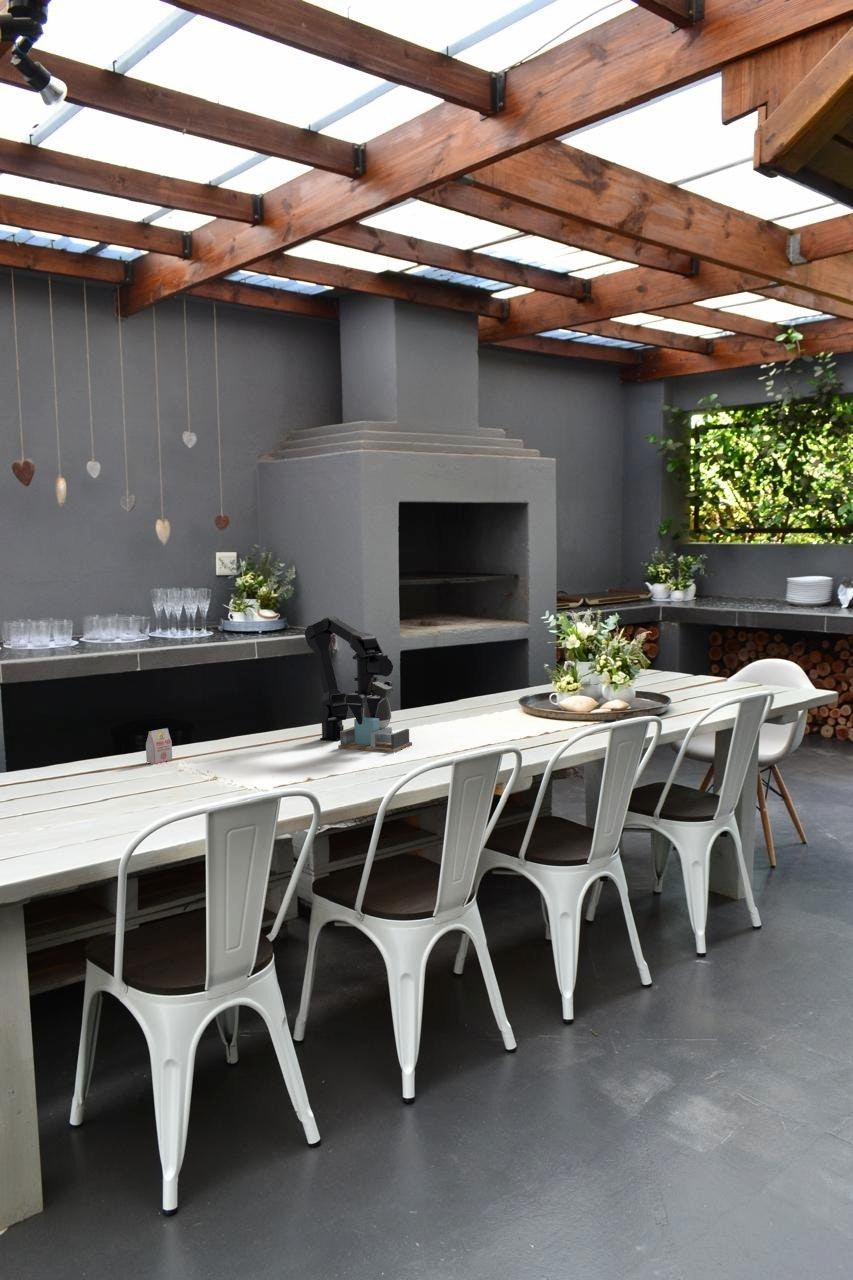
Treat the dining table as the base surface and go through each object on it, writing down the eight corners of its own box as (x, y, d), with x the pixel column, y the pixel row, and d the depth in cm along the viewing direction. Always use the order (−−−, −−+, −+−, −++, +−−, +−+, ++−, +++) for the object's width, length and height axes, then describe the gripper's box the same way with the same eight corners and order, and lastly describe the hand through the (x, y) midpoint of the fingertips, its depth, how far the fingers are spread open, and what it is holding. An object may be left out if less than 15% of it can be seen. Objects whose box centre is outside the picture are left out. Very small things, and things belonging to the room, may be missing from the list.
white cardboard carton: (146, 763, 308) (145, 730, 307) (164, 759, 314) (163, 727, 313) (154, 764, 306) (152, 732, 305) (172, 760, 311) (171, 728, 310)
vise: (338, 748, 325) (338, 731, 325) (357, 741, 337) (357, 724, 337) (394, 752, 317) (393, 735, 316) (412, 745, 329) (411, 728, 328)
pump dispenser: (361, 726, 365) (360, 684, 363) (390, 725, 366) (389, 683, 365) (363, 731, 355) (362, 688, 353) (392, 730, 356) (391, 687, 355)
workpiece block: (354, 743, 328) (354, 719, 327) (360, 741, 332) (360, 717, 331) (374, 745, 325) (373, 720, 324) (379, 742, 329) (379, 718, 328)
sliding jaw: (370, 747, 321) (370, 733, 320) (387, 740, 332) (387, 727, 331) (393, 749, 318) (393, 735, 317) (410, 741, 328) (409, 728, 328)
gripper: (374, 678, 314) (375, 728, 316) (401, 671, 331) (402, 718, 333) (343, 677, 319) (344, 726, 320) (370, 670, 336) (371, 716, 337)
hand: (367, 721), depth 327 cm, fingers open, 9 cm apart
